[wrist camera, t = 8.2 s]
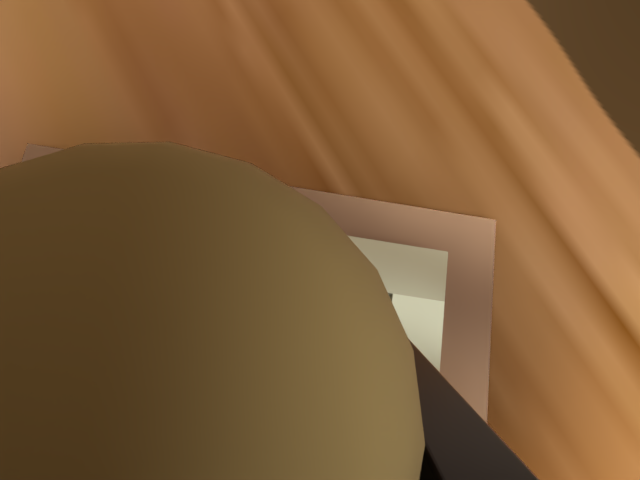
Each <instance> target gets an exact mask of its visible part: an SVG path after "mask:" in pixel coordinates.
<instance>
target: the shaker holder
mask: <svg viewBox="0 0 640 480" xmlns="http://www.w3.org/2000/svg"><path fill="white" fill-rule="evenodd" d="M61 150H64V149H59V148H53V147H46V146H40V145H34V144H28V143H27V146H26V149H25V152H24V155H23V159H22V162H24V161H27V160H30V159H34V158H37V157H40V156H44V155H47V154H51V153H54V152H57V151H61ZM289 187H291V186H289ZM291 188H292V189H294V190H296V191H297V192H299V193H301V194H302V195H304V196H306V197H307V198H309V199H310V200H312V201H314V202H315V203H317V204H319V205H320V206H322V207H323V209H324V210H325V211H326V212H327V213H328V214H329V215H330V216H331V218H332V219H333V220H334V221H335V222H336V223H337V224H338V226H339V227H340V228H341V229H342V230H343V231H344V232H345V233H346V235H347V236H348V237H349V238H350V239H351V240H352V241H353V243H354V244H355V245H356V246H357V247H358V248H359V249H360V250H361V252H362V253H363V254H364V255H365V256H366V257H367V258H368V260H369V261H370V262H371V263H372V264H373V265H374V266H375V268H376V269H377V270H378V272H379V275H380V277H381V279H382V281H383V283H384V286H385V288H386V290H387V292H388V295H389V297H390V299H391V301H392V303H393V306H394V308H395V310H396V312H397V315H398V317H399V319H400V321H401V324H402V326H403V328H404V330H405V332H406V335H407V337H408V339H409V340H410V341H411V342H412V343H413V344H414V345H415V346H416V347H417V348H418V349H419V350H420V352H421V353H422V354H423V355H424V356H425V357H426V358H427V359H428V360H429V361H430V362H431V363H432V364H433V366H434V367H435V368H436V369H437V370H438V371H439V372H440V373H441V374H442V375H443V376H444V377H445V378H446V380H447V381H448V382H449V383H450V384H451V385H452V386H453V387H454V388H455V389H456V390H457V391H458V393H459V394H460V395H461V396H462V397H463V398H464V399H465V400H466V401H467V402H468V403H469V404H470V405H471V407H472V408H473V409H474V410H475V411H476V412H477V413H478V414H479V415H480V416H481V417H482V418H483V419H484V421H485V422H486V423H487V412H488V389H489V367H490V345H491V322H492V300H493V277H494V255H495V233H496V220H494V219H487V218H481V217H475V216H469V215H463V214H457V213H451V212H445V211H438V210H432V209H426V208H420V207H414V206H408V205H402V204H396V203H389V202H383V201H377V200H371V199H365V198H359V197H353V196H347V195H340V194H334V193H328V192H322V191H316V190H310V189H304V188H298V187H291Z"/></svg>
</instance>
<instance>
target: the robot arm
mask: <svg viewBox="0 0 640 480" xmlns="http://www.w3.org/2000/svg"><path fill="white" fill-rule="evenodd" d="M409 341H410V340H409ZM410 344H411V346H412V348H413V351H414V359H415V367H416V375H417V383H418V391H419V399H420V407H421V415H422V423H423V431H424V439H425V448H424V454H423V460H422V466H421V472H420V477H419V480H539V479H538V478H537V477H536V475H535V474H534V473H533V472H532V471H531V470H530V469H529V468H528V467H527V466H526V465H525V464H524V463H523V461H522V460H521V459H520V458H519V457H518V456H517V455H516V454H515V453H514V452H513V451H512V450H511V449H510V447H509V446H508V445H507V444H506V443H505V442H504V441H503V440H502V439H501V438H500V437H499V436H498V435H497V433H496V432H495V431H494V430H493V429H492V428H491V427H490V426H489V425H488V424H487V423H486V422H485V421H484V419H483V418H482V417H481V416H480V415H479V414H478V413H477V412H476V411H475V410H474V409H473V408H472V407H471V405H470V404H469V403H468V402H467V401H466V400H465V399H464V398H463V397H462V396H461V395H460V394H459V393H458V391H457V390H456V389H455V388H454V387H453V386H452V385H451V384H450V383H449V382H448V381H447V380H446V378H445V377H444V376H443V375H442V374H441V373H440V372H439V371H438V370H437V369H436V368H435V367H434V366H433V364H432V363H431V362H430V361H429V360H428V359H427V358H426V357H425V356H424V355H423V354H422V353H421V352H420V350H419V349H418V348H417V347H416V346H415V345H414V344H413V343H412V342H411V341H410Z"/></svg>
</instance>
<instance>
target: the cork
mask: <svg viewBox="0 0 640 480" xmlns="http://www.w3.org/2000/svg"><path fill="white" fill-rule="evenodd" d="M424 448H425V439H424V431H423V423H422V415H421V407H420V399H419V391H418V383H417V375H416V367H415V359H414V351H413V348H412V346H411V344H410V341H409V339H408V337H407V335H406V332H405V330H404V328H403V326H402V324H401V321H400V319H399V317H398V315H397V312H396V310H395V308H394V306H393V303H392V301H391V299H390V297H389V295H388V292H387V290H386V288H385V286H384V283H383V281H382V279H381V277H380V275H379V272H378V270H377V269H376V268H375V266H374V265H373V264H372V263H371V262H370V261H369V260H368V258H367V257H366V256H365V255H364V254H363V253H362V252H361V250H360V249H359V248H358V247H357V246H356V245H355V244H354V243H353V241H352V240H351V239H350V238H349V237H348V236H347V235H346V233H345V232H344V231H343V230H342V229H341V228H340V227H339V226H338V224H337V223H336V222H335V221H334V220H333V219H332V218H331V216H330V215H329V214H328V213H327V212H326V211H325V210H324V209H323V207H322V206H320V205H319V204H317V203H315V202H314V201H312V200H310V199H309V198H307V197H306V196H304V195H302V194H301V193H299V192H297V191H296V190H294V189H292V188H291V187H289V186H288V185H286V184H284V183H283V182H281V181H279V180H278V179H276V178H274V177H273V176H271V175H270V174H268V173H266V172H265V171H263V170H261V169H260V168H258V167H257V166H255V165H253V164H252V163H249V162H245V161H241V160H237V159H233V158H230V157H226V156H222V155H218V154H215V153H211V152H207V151H203V150H199V149H196V148H192V147H188V146H184V145H180V144H177V143H173V142H137V143H90V144H81V145H77V146H74V147H71V148H67V149H64V150H61V151H57V152H54V153H51V154H47V155H44V156H40V157H37V158H34V159H30V160H27V161H24V162H20V163H17V164H14V165H10V166H7V167H4V168H0V480H419V477H420V472H421V466H422V460H423V454H424Z"/></svg>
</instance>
